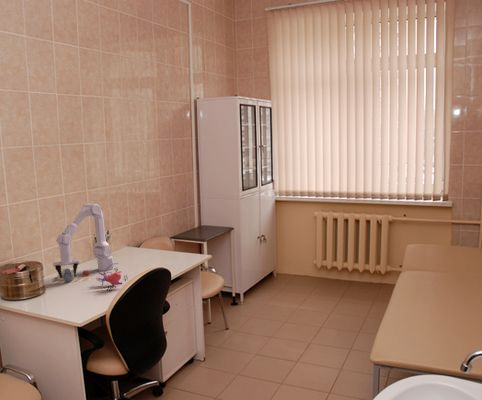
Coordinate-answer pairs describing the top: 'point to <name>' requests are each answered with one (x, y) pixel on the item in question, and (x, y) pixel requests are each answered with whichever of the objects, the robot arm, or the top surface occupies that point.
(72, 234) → the robot arm
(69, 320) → the top surface
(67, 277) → the pawn
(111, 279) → the heart model
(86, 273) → the beige irregular flat piece
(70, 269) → the dome
